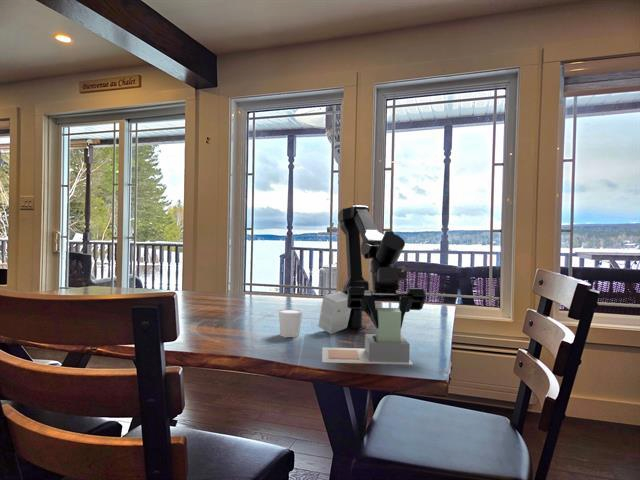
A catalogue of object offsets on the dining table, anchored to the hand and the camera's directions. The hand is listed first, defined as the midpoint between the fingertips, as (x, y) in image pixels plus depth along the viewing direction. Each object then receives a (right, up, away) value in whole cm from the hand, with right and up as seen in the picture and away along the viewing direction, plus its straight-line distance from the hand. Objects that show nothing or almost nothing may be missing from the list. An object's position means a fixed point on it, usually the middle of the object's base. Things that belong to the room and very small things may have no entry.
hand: (389, 327), depth 91 cm
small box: (-12, -7, +30) cm, 33 cm away
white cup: (-25, -8, +24) cm, 35 cm away
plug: (0, -6, +1) cm, 6 cm away
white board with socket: (-6, -8, +1) cm, 10 cm away
